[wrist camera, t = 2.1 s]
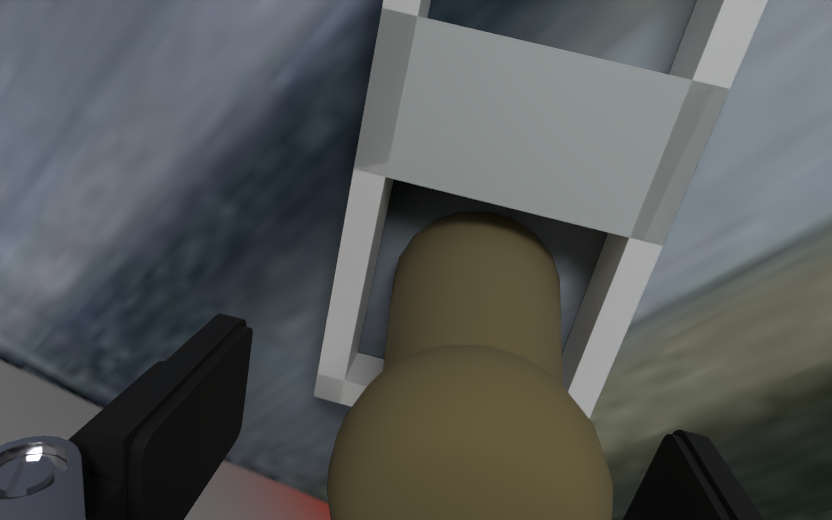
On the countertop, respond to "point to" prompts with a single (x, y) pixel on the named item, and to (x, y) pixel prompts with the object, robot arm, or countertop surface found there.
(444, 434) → the cork
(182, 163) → the countertop surface
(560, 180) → the socket frame
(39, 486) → the robot arm
